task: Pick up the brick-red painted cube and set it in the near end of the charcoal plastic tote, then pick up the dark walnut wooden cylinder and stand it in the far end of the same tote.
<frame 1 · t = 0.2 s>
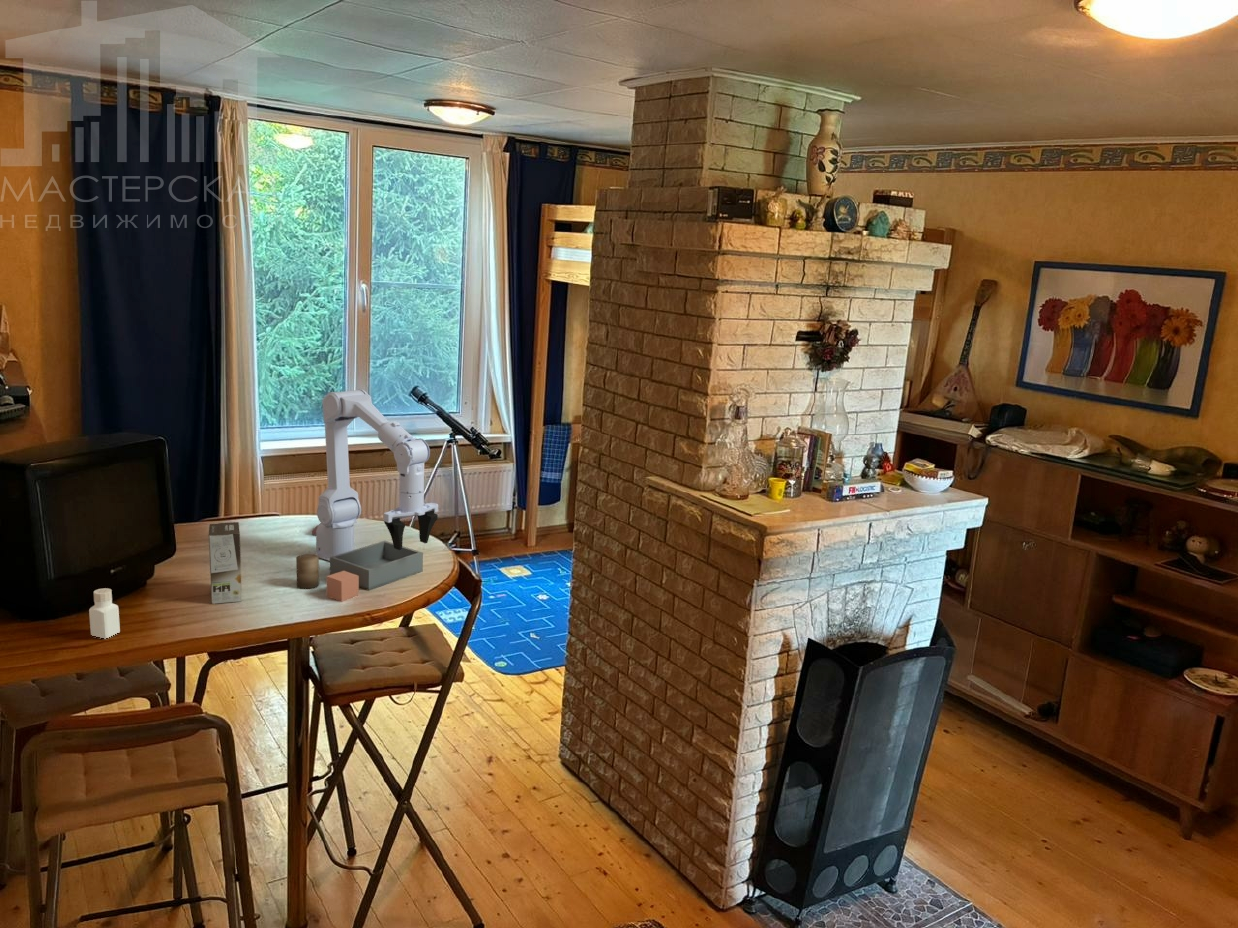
hand: (410, 545, 223), 10 cm above the table, tool pointing down, fingers open, 7 cm apart
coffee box: (226, 596, 212), on the table
cube: (342, 596, 216), on the table
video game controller: (329, 533, 260), on the table
cylinder: (307, 585, 221), on the table
white pill bottle: (105, 636, 188), on the table
tote: (377, 573, 230), on the table
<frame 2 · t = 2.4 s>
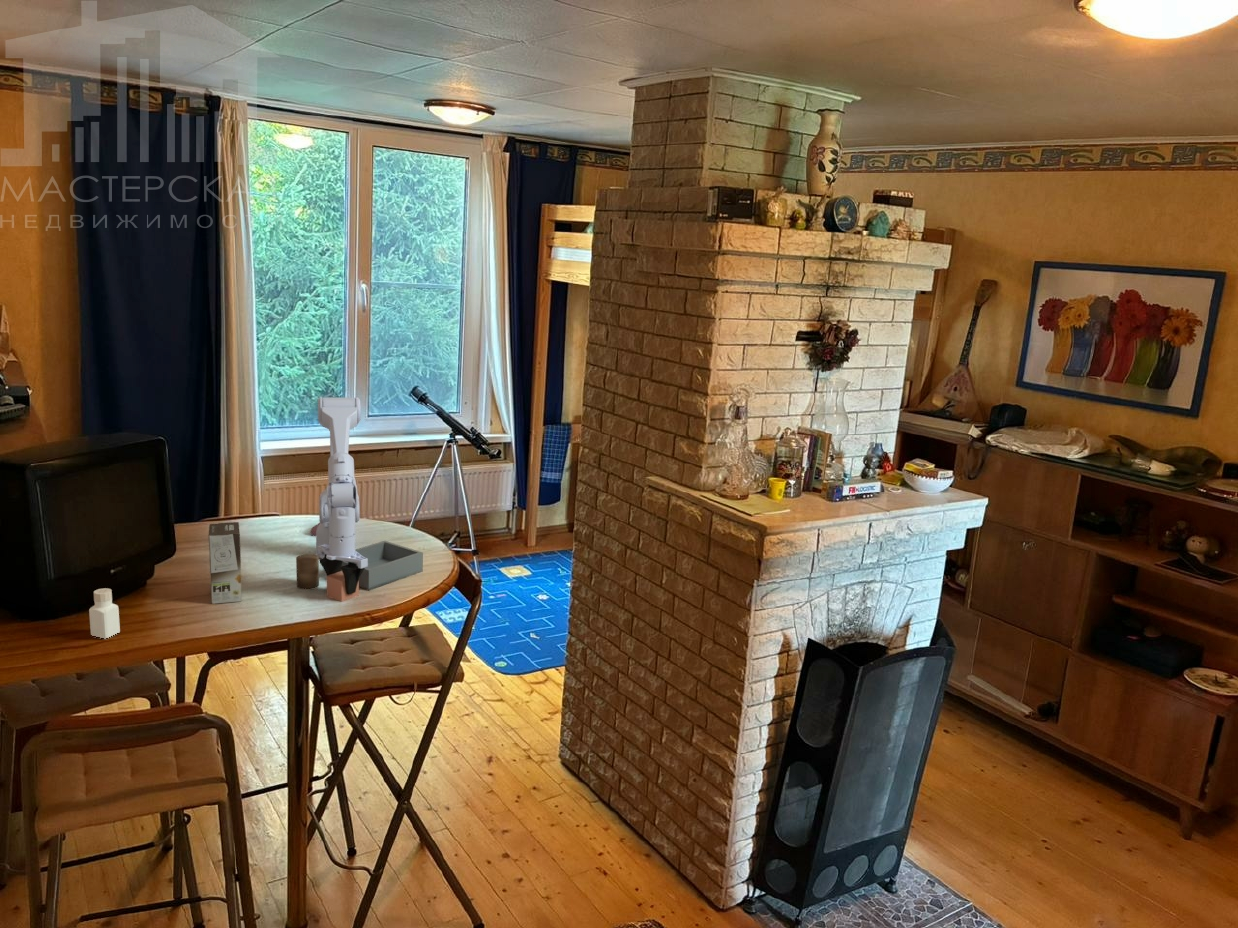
hand: (342, 590, 215), 1 cm above the table, tool pointing down, fingers closed on cube, 5 cm apart
cube: (342, 595, 216), on the table, touching gripper
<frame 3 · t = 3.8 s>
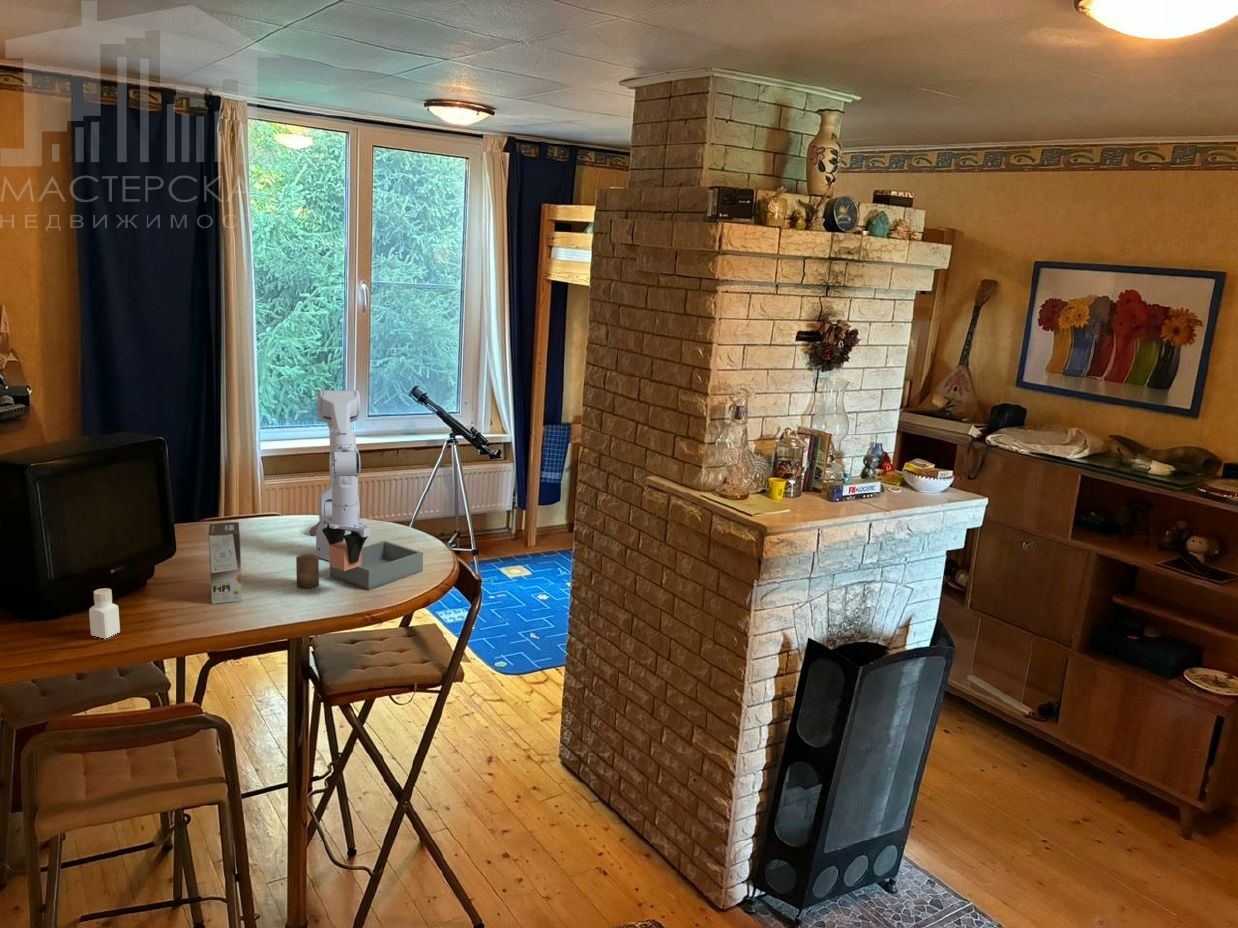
hand: (345, 559, 215), 8 cm above the table, tool pointing down, fingers closed on cube, 5 cm apart
cube: (345, 565, 216), point 7 cm above the table, touching gripper
when the fingers open (4 cm above the table, at t = 5.7 s): cube drops 2 cm, resting on tote.
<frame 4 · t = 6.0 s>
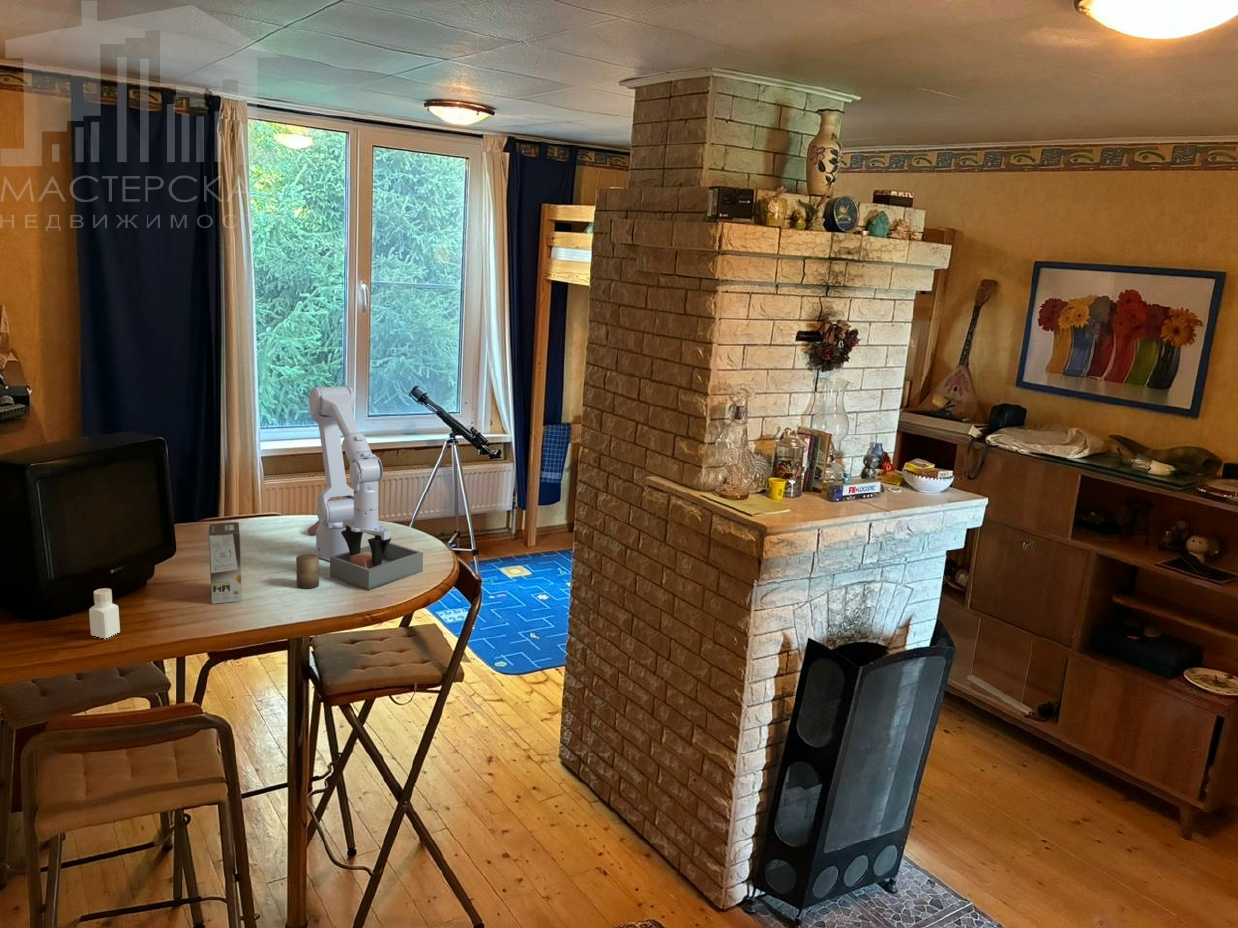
hand: (366, 561, 227), 4 cm above the table, tool pointing down, fingers open, 7 cm apart
cube: (365, 575, 227), point 1 cm above the table, touching tote
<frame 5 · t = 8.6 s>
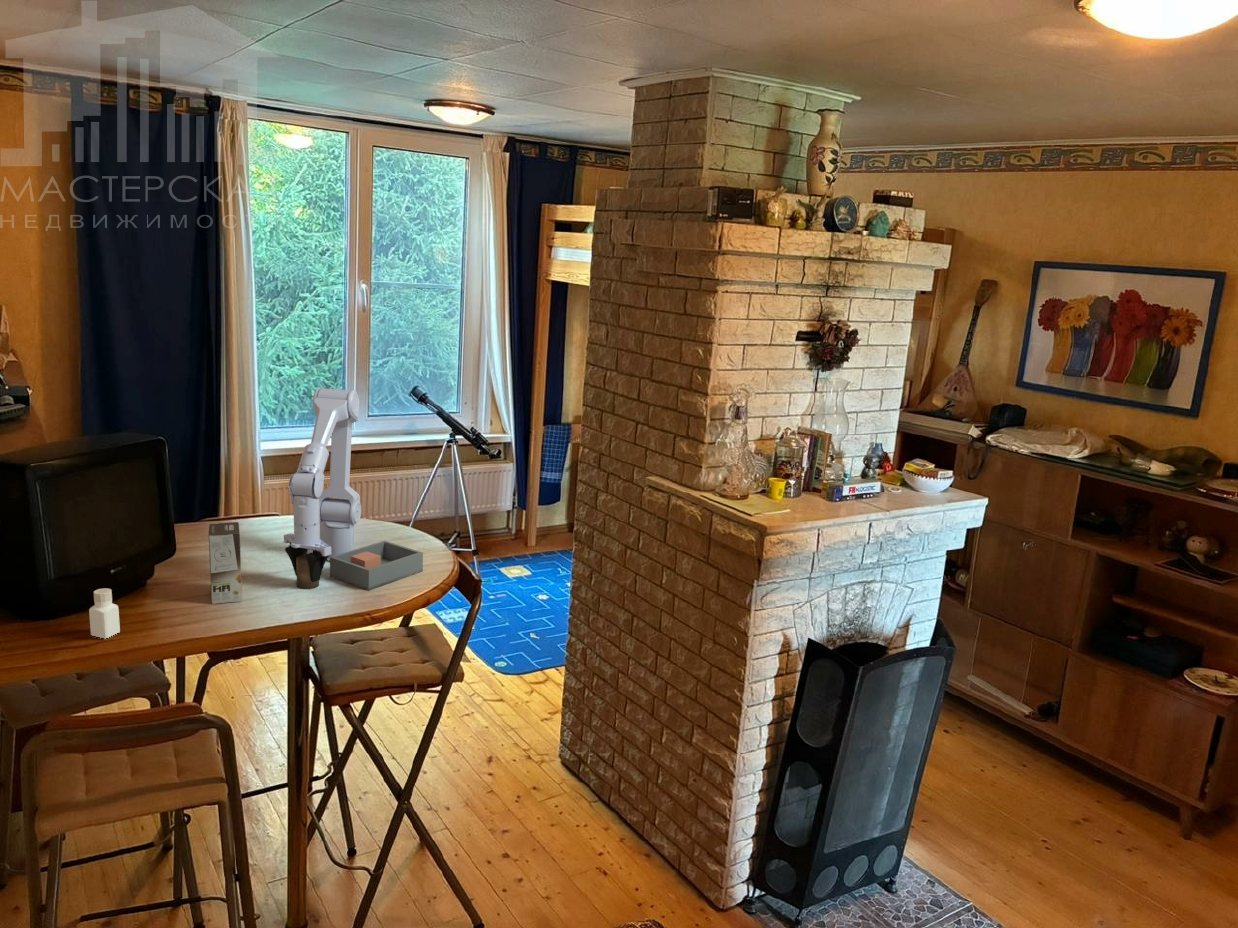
hand: (307, 577, 220), 2 cm above the table, tool pointing down, fingers closed on cylinder, 5 cm apart
cylinder: (307, 585, 221), on the table, touching gripper
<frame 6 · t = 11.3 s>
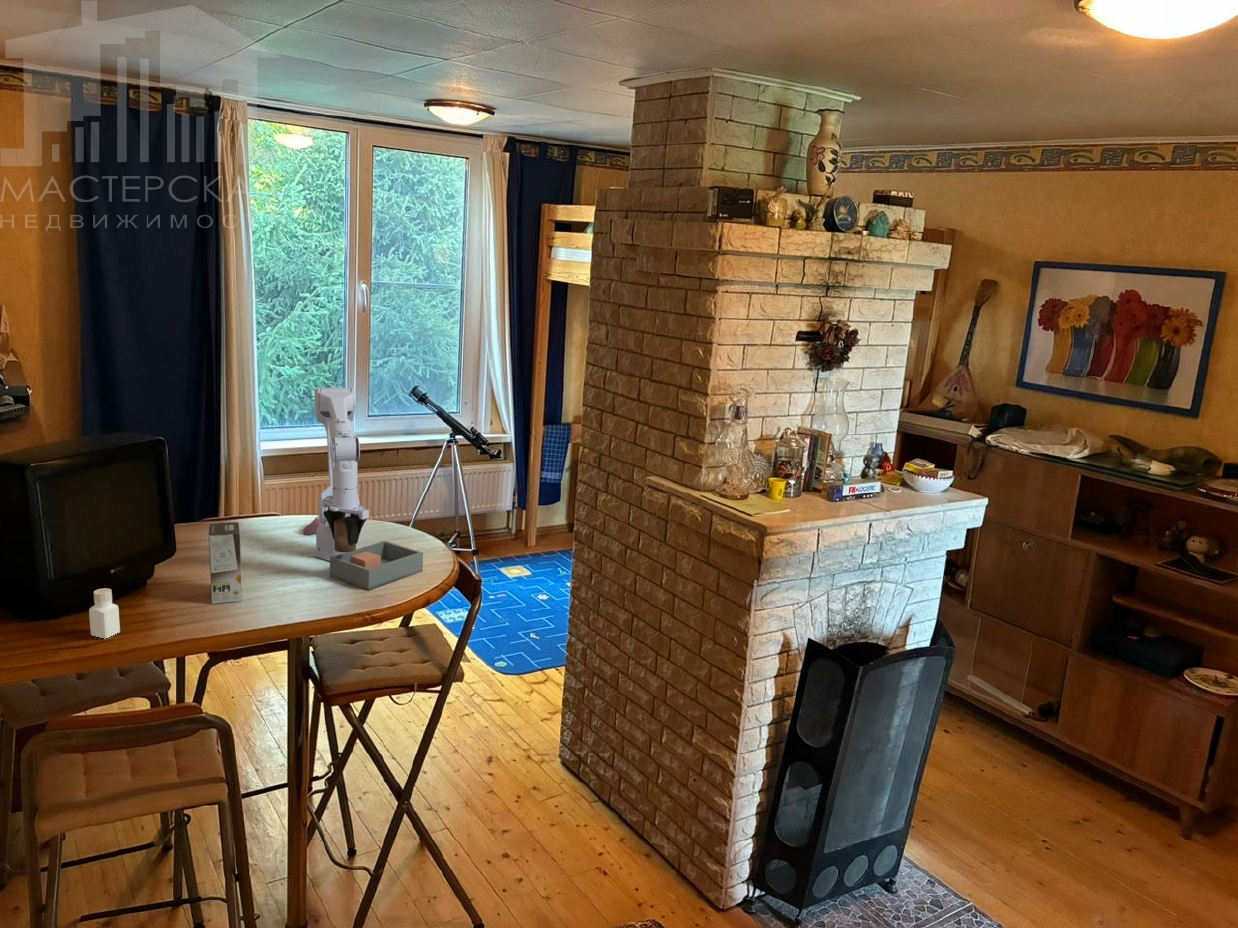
hand: (345, 541, 224), 9 cm above the table, tool pointing down, fingers closed on cylinder, 5 cm apart
cylinder: (345, 549, 225), point 7 cm above the table, touching gripper
when the fingers open (4 cm above the table, at t = 13.8 s): cylinder drops 1 cm, resting on tote.
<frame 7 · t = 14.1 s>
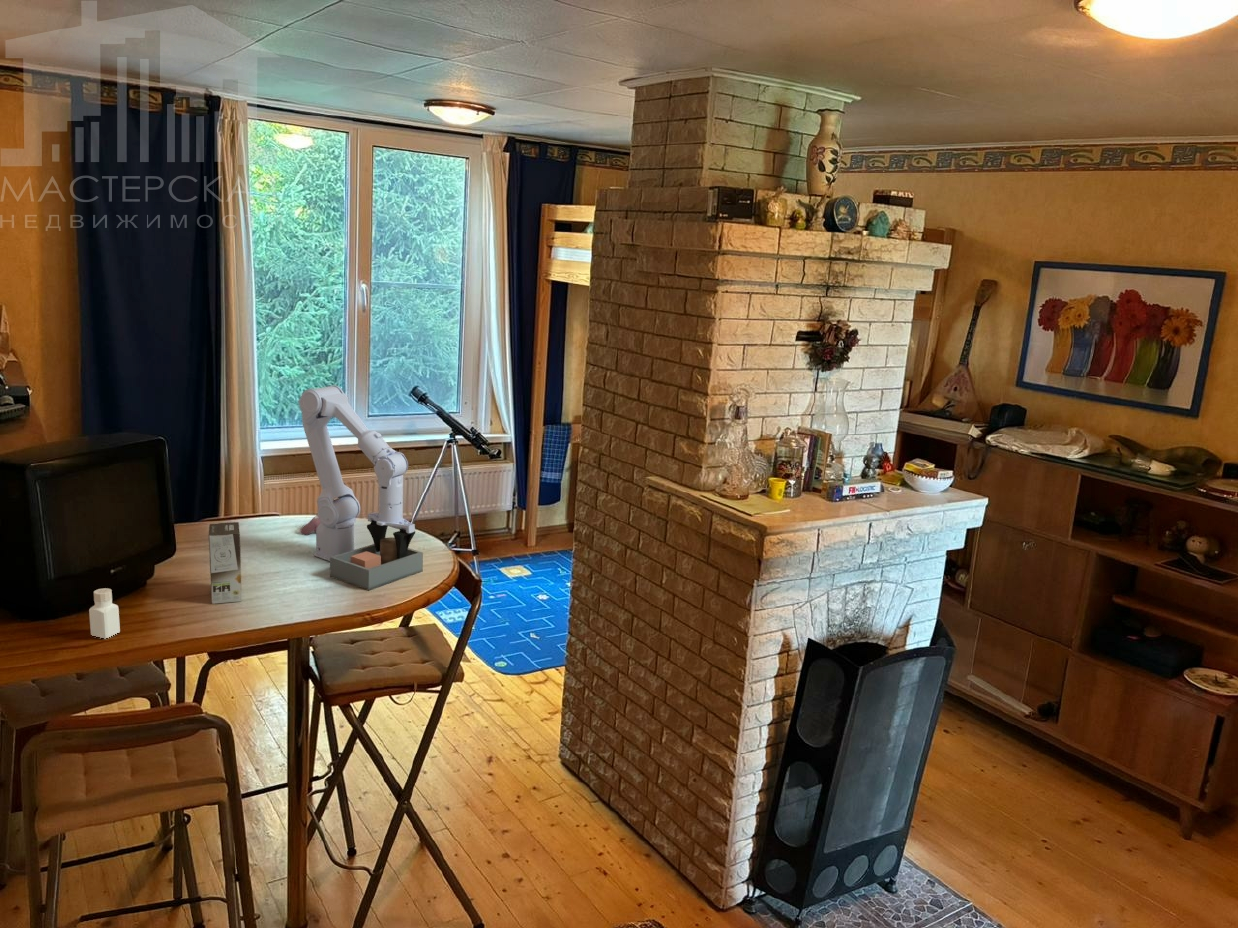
hand: (390, 554, 233), 4 cm above the table, tool pointing down, fingers open, 7 cm apart
cylinder: (390, 567, 234), point 1 cm above the table, touching tote
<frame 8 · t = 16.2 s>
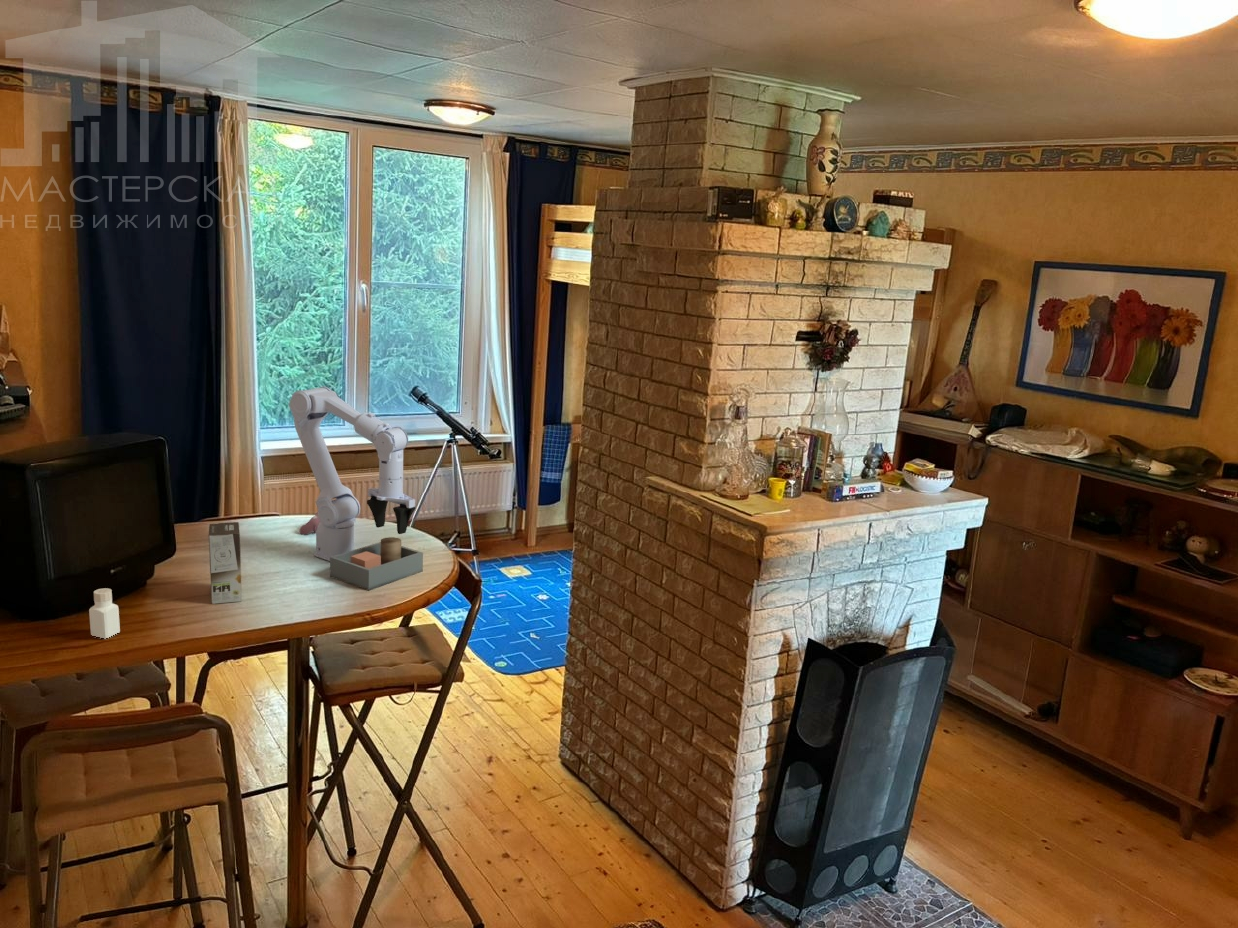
hand: (390, 529, 232), 10 cm above the table, tool pointing down, fingers open, 7 cm apart
at the end: cube inside the target area on the tote (3.6 cm from its centre), point 0.6 cm above the tote's base; cylinder inside the target area on the tote (4.4 cm from its centre), point 0.6 cm above the tote's base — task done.
